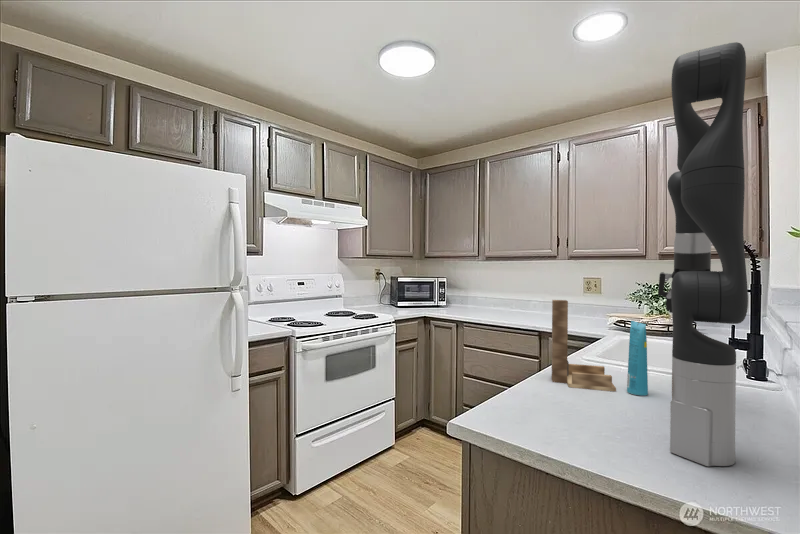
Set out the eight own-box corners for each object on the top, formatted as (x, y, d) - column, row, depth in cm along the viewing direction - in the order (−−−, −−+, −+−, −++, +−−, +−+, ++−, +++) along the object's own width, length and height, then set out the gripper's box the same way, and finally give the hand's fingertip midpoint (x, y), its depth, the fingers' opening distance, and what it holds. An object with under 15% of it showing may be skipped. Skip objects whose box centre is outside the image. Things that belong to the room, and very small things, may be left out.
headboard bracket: (607, 379, 121) (607, 300, 121) (615, 391, 109) (616, 303, 109) (550, 375, 125) (551, 298, 125) (553, 385, 114) (554, 301, 114)
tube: (655, 397, 104) (655, 324, 104) (636, 397, 104) (637, 324, 104) (637, 389, 112) (637, 320, 112) (620, 389, 111) (620, 320, 111)
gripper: (658, 252, 101) (657, 314, 103) (730, 251, 93) (728, 319, 95) (658, 249, 107) (658, 308, 109) (726, 248, 100) (724, 312, 101)
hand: (691, 313), depth 102 cm, fingers open, 8 cm apart
